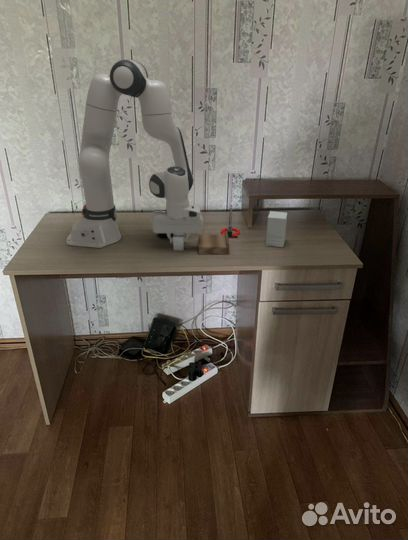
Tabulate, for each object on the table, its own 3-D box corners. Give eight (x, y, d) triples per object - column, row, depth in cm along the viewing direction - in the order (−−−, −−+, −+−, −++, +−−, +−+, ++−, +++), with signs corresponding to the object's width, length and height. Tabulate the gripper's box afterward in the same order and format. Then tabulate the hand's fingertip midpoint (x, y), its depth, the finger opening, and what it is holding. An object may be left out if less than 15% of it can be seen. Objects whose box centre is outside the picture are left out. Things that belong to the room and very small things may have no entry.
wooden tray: (198, 254, 160) (198, 243, 158) (198, 241, 170) (198, 231, 168) (228, 254, 160) (229, 243, 158) (227, 241, 170) (227, 231, 168)
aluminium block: (173, 250, 162) (173, 237, 159) (174, 244, 167) (173, 231, 164) (183, 250, 162) (183, 236, 160) (184, 244, 167) (183, 231, 164)
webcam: (153, 236, 174) (152, 215, 169) (162, 230, 180) (161, 209, 175) (169, 240, 171) (168, 218, 166) (178, 233, 177) (177, 212, 172)
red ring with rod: (222, 229, 182) (219, 237, 174) (223, 201, 176) (220, 208, 168) (240, 230, 181) (239, 238, 173) (242, 202, 175) (240, 209, 167)
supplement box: (285, 240, 171) (288, 212, 165) (283, 247, 165) (286, 218, 159) (267, 238, 173) (270, 210, 167) (265, 245, 167) (267, 217, 160)
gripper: (150, 213, 154) (152, 245, 161) (203, 213, 154) (203, 245, 161) (151, 207, 160) (153, 239, 166) (203, 207, 160) (203, 238, 167)
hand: (178, 242), depth 164 cm, fingers closed on aluminium block, 4 cm apart
